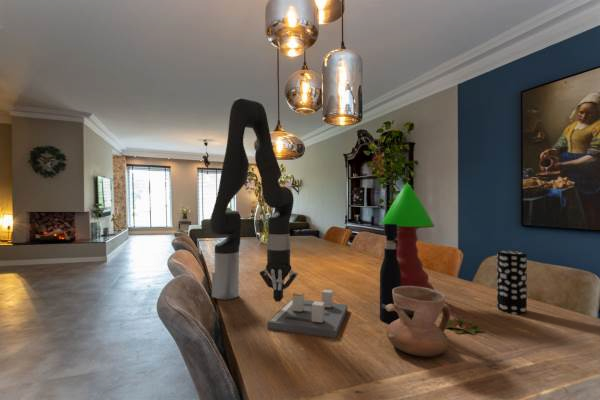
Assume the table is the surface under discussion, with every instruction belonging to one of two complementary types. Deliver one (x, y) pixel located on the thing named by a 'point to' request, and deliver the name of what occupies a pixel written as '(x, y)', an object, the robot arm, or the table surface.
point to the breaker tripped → (298, 301)
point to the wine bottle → (389, 275)
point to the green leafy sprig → (468, 325)
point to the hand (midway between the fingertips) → (278, 300)
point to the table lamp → (409, 235)
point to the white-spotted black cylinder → (512, 282)
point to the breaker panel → (309, 320)
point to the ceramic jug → (418, 321)
